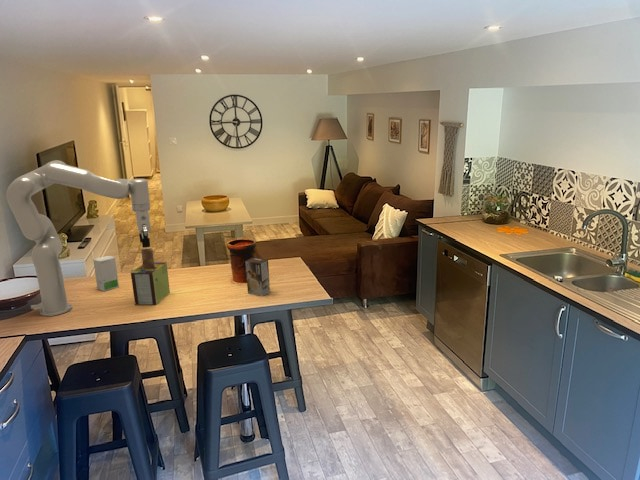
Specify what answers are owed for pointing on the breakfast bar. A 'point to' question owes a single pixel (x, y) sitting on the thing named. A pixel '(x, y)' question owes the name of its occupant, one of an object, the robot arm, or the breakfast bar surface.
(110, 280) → the skincare box
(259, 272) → the coffee box
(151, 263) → the walnut block
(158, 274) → the protein box
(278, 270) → the breakfast bar surface
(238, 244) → the vessel
